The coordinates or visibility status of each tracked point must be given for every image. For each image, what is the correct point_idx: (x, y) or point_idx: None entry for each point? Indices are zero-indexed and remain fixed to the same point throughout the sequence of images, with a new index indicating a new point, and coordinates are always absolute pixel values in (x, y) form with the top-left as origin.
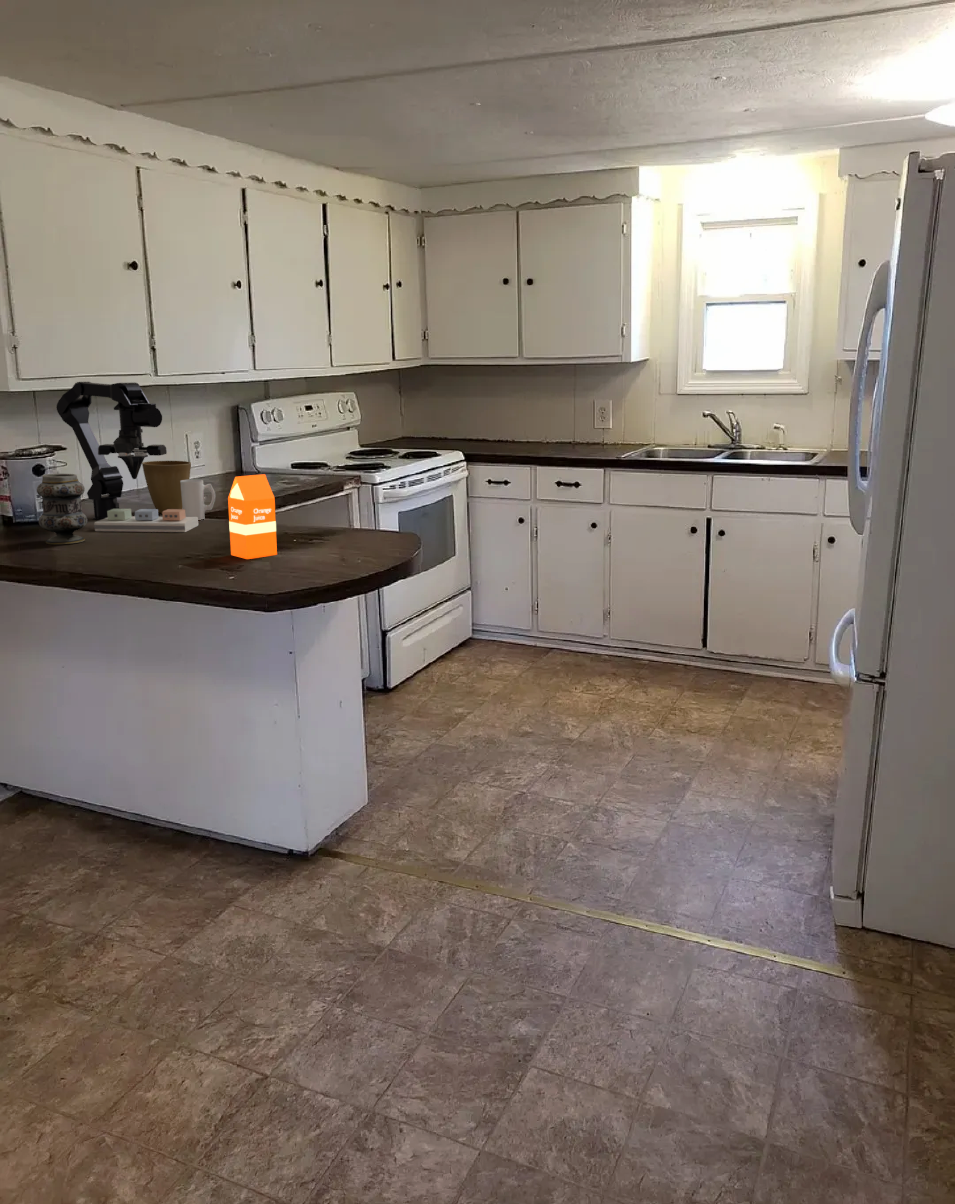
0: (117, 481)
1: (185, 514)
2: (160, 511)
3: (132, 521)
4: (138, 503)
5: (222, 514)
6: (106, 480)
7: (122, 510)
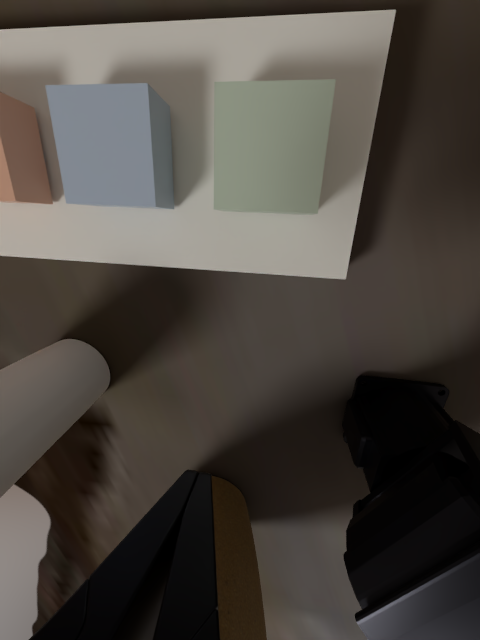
0: (383, 567)
1: (76, 355)
2: (226, 484)
3: (178, 81)
4: (345, 628)
5: (52, 450)
6: (477, 544)
7: (239, 126)
